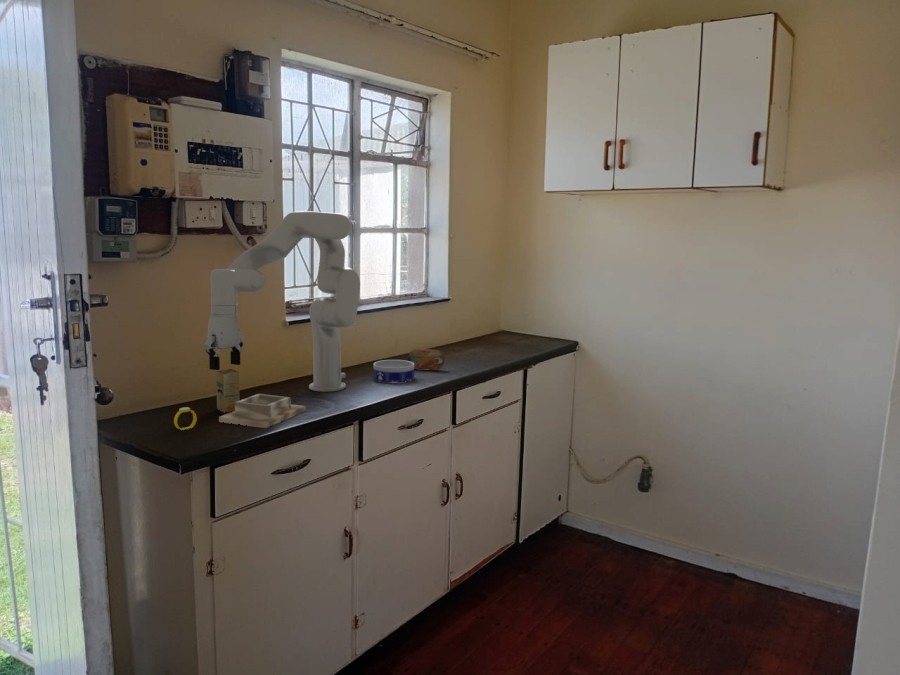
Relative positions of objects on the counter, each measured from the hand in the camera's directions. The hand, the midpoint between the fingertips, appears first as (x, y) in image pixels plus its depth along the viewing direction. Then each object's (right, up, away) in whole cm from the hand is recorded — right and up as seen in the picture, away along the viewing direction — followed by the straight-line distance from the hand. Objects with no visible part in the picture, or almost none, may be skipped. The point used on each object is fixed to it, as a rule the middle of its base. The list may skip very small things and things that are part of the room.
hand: (225, 366), depth 206 cm
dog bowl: (+47, -7, +49) cm, 68 cm away
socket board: (+13, -14, -4) cm, 20 cm away
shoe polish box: (0, -13, +3) cm, 14 cm away
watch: (-5, -17, -18) cm, 25 cm away
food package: (+58, -4, +66) cm, 88 cm away
